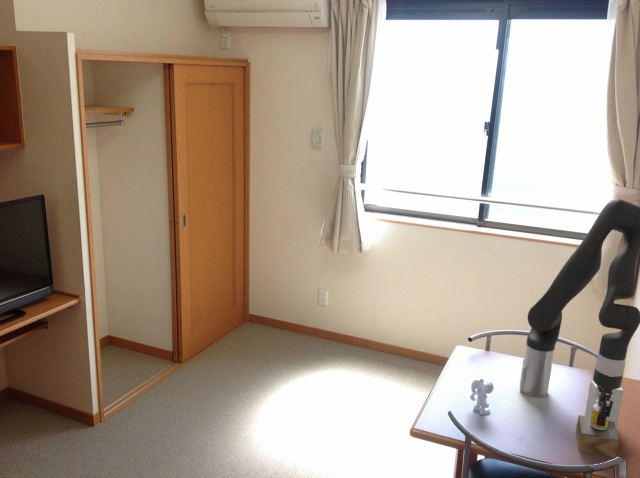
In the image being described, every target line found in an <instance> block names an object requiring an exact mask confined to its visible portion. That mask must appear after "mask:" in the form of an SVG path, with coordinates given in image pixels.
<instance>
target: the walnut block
mask: <svg viewBox="0 0 640 478" xmlns="http://www.w3.org/2000/svg"><path fill="white" fill-rule="evenodd" d="M577 417H578V418H577V423H576V427H575V428H576V429H575V437H576V442H577V448H578V451H581V452H584V453H590V454H595V455H599V456H605V457H609V458H612V459H613V458H614V457H616V458H617V453H618V448H619V443H620V438H619V434H618V432H617V429H616V427H615V423H614V422H612V421H608V426H607V429H605V430H599V429H596V428H594V427H592V426H591V424H590V422H591V417H586V416H585V415H580V414H578V416H577ZM614 459H615V458H614Z"/></svg>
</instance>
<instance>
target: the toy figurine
mask: <svg viewBox="0 0 640 478" xmlns="http://www.w3.org/2000/svg"><path fill="white" fill-rule="evenodd" d="M470 385H471V392H472V394H471V395H470V400H471V401H472V402H475V401H476V400H477V401H476V404H475V405H474V406H473V409H472V410H473V412H478V413H479V415H481V416H484V415H485V416H486V415H490V413H491V411H490V408H489V407H490V405H489V403H487V398H488V395H489V394H492V392H493V391H494V384H493V382H492V380H487V379H483V378H475V379H474V380H473V381H472V383H471V384H470ZM475 395H477V399H476V397H475Z"/></svg>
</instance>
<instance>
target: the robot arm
mask: <svg viewBox="0 0 640 478" xmlns="http://www.w3.org/2000/svg"><path fill="white" fill-rule="evenodd" d="M612 231H617V232H619V233H621V234H623V244H622V248H620V249H621V250H620V251H619V252H618V254H616V256H615V257H614V259H613V260H612V261H611V264H610V265H609V267H608V273H607V275H608V276H607V288H606V293H605V297H604V300H603V303H602V305H601V307H600V310H599V312H598V321H599V324H600V325H602V326H603V327H605V328H609V329H614V330H615V329H616V330H620V331H617V332H608V333H605V334H603V335H602V336H601V339H600V344H599V350H598V353H597V357H596V360H595V364H594V365H595V366H594V370H593V376H592V380H593V381H594V383H595V384H597V389H596V396H595V398H596V401H595V402H597V399H598V406H599V411H598V417H597V425H598V426H605V422H606V417H609V416H610V412H611V409H612V405H613V401H612V399H613V393H612V390H614V389H618V388H620V387H621V386H622V381H623V377H624V372H625V367H626V358H627V352H628V348H629V345H630V343H631V340H632V338H633V337H634V334H635V333H636V332H637V330H638V328H639V326H640V309H639V308H638V307H636V306H633V305H628V304H620V303H615V301H619V300H628V299H631V298H633V297H634V295H635V289H636V269H637V263H638V262H637V261H638V257H639V254H640V206H639V205H637V204H635V203H632V202H629V201H626V200H623V199H621V198H613V199H611V200H610V201H608V202H607V204H605V206H604V207H603V208H602V210H601V211H600V213H599V214H598V216H597V218H596V220H595V221H594V222H593V225H592V226H591V228H590V229H589V231H588V232H587V234H586V236H585V237H584V238H583V240H582V241H581V243H580V244H579V245H578V247H577V248H576V249H575V251H574V252H573V253H572V254H571V255H570V257H568V260H566V262H565V263H564V264H563V266H562V268H561V269H560V271H559V272H558V274H557V275H556V277H555V278H554V279H553V281H552V282H551V285H550V286H549V288H548V289H547V290H546V292H545V293H544V294H543V295H542V296H541V297H540V299H538V300H537V302H535V304H534V305H532V306H531V307H530V309H529V310H528V313H527V322H528V325H529V326H530V328H531V329H530V330H529V333H528V334H527V338H526V343H525V351H524V358H523V361H522V367H521V375H520V381H519V392H520V393H524V394H525V395H527V396H531V397H536V398H542V397H545V396H547V395H548V392H549V385H550V379H551V374H552V368H553V367H552V366H553V361H554V355H555V348H556V345H557V342H558V339H559V335H560V330H561V325H562V321H563V320H562V319H563V310H564V308H565V307H566V306H567V305H568V304H569V303H570V302H571V301H572V300H573V299H574V298H575V297H577V296H578V295H579V294H580V293H581V292H582V291H583V290H584V289H585V288H586V287H587V286H588V284H589V283H590V282H591V281H592V280H593V279H594V278H595V276H596V275H597V274H598V272H599V271H600V269H601V265H602V254H603V253H602V251H603V250H602V249H603V246H604V245H603V244H604V242H605V241H606V238H607V237H608V236H609V234H610V233H611V232H612ZM621 388H622V387H621ZM600 402H602V404H601V403H600Z"/></svg>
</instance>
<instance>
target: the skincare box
mask: <svg viewBox="0 0 640 478" xmlns="http://www.w3.org/2000/svg"><path fill="white" fill-rule="evenodd" d="M596 389H597V384H595V383H594V381H593V379H591V380H590V382H589V388H588V394H587V395H588V396H587V400H586V405H585V406H586V407H585V414H584V416H586V417H592V411H593V406H594V405H595V404H596V402H595V401H596V398H595V396H596ZM612 393H613V399H612V401H613V405H612V409H611V412H610V416H609V421H612V422H614V423H615V427H616V430H617V428H618V423H619V417H620V413H621V412H620V411H621V407H622V401H623V395H624V389H623V388H622V387H620V388H618V389H614V390H612Z"/></svg>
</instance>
